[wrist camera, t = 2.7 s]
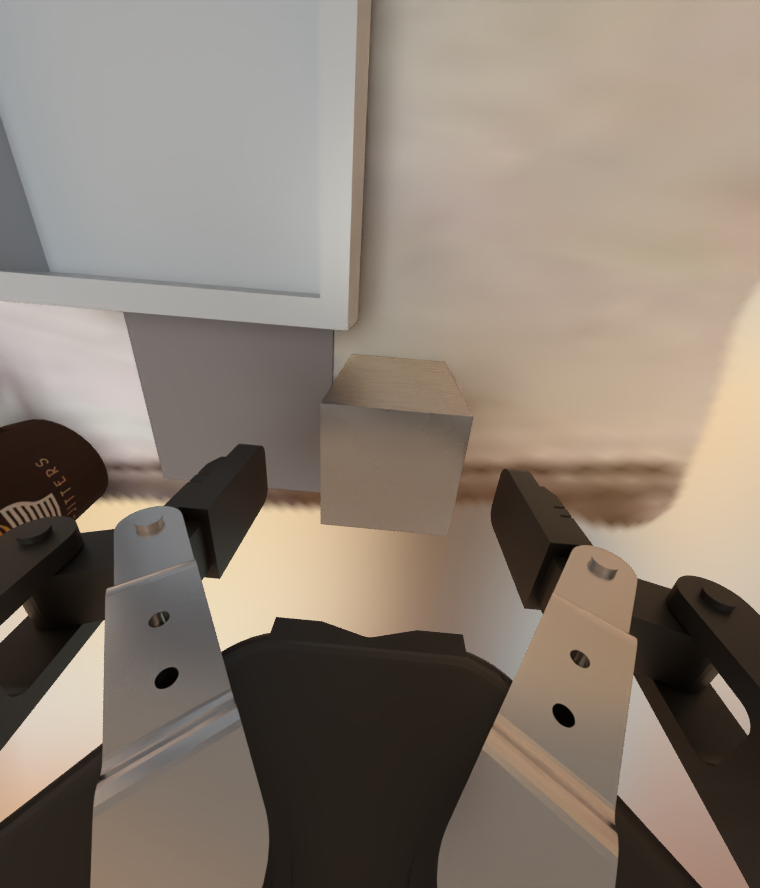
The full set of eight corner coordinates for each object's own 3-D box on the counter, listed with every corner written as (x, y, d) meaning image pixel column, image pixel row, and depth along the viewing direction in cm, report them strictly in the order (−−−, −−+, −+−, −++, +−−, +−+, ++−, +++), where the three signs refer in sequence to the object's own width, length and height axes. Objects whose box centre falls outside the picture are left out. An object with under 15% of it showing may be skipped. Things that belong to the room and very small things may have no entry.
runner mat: (340, -194, 11) (339, -202, 11) (331, 491, 22) (330, 493, 22) (-1, -214, 11) (-8, -222, 11) (165, 476, 22) (164, 478, 22)
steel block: (444, 362, 18) (473, 416, 11) (431, 445, 20) (448, 536, 13) (351, 353, 18) (320, 403, 11) (348, 437, 20) (320, 524, 13)
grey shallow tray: (384, -156, 11) (356, -926, 4) (361, 316, 17) (335, 342, 10) (-51, -183, 11) (-804, -954, 4) (85, 293, 17) (-124, 302, 10)
